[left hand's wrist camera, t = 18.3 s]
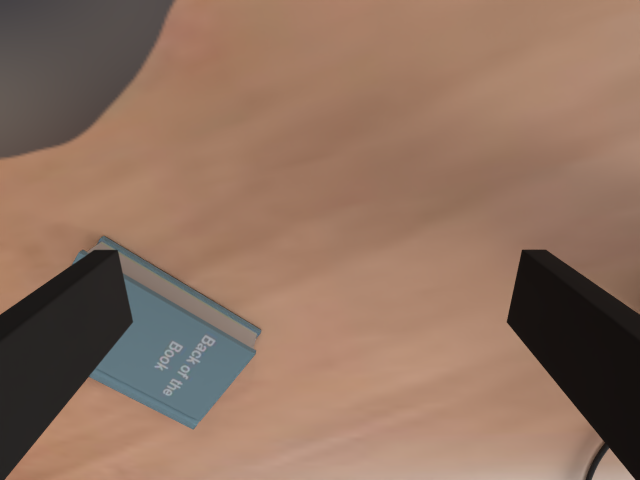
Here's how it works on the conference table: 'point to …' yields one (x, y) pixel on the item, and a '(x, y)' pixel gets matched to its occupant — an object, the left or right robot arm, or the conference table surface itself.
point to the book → (173, 343)
